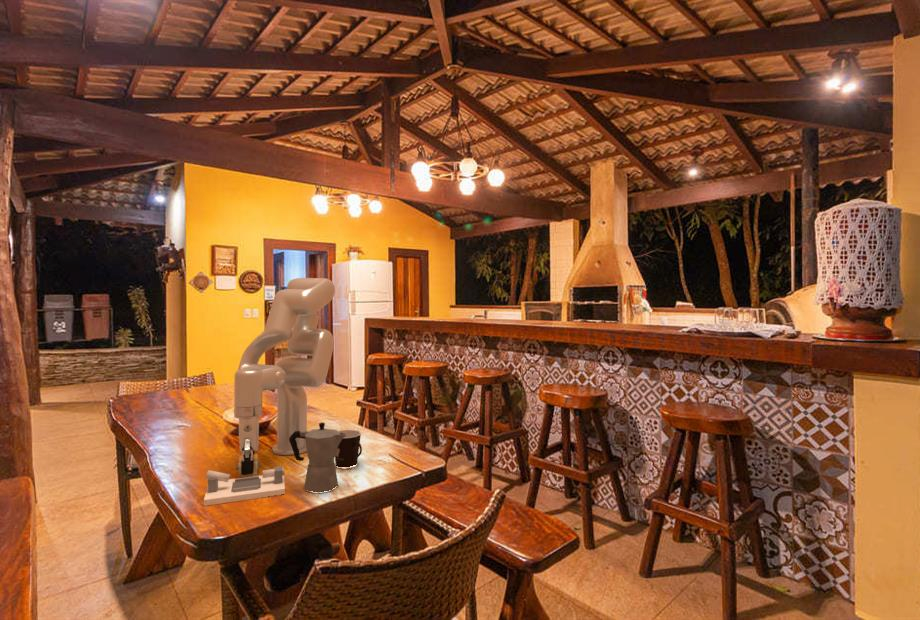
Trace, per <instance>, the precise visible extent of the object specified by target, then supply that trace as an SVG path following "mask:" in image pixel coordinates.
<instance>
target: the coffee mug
mask: <svg viewBox="0 0 920 620" xmlns="http://www.w3.org/2000/svg"><path fill="white" fill-rule="evenodd" d="M337 431H338V432H342V433H345V434H346V436H345V437H344V438H343V439H342V440H341V442H340V444H339V445H338V447H337V450H336V456H335V457H334V463H335V467H336V466H338V467H350V466H353V465H356V464H357V465H358V461H359V457H360V456H361V455H362V452H363V447H362V444H361V437H362V436H361V435H362V432H361V431H359V430H355V429H343V430H337Z"/></svg>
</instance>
